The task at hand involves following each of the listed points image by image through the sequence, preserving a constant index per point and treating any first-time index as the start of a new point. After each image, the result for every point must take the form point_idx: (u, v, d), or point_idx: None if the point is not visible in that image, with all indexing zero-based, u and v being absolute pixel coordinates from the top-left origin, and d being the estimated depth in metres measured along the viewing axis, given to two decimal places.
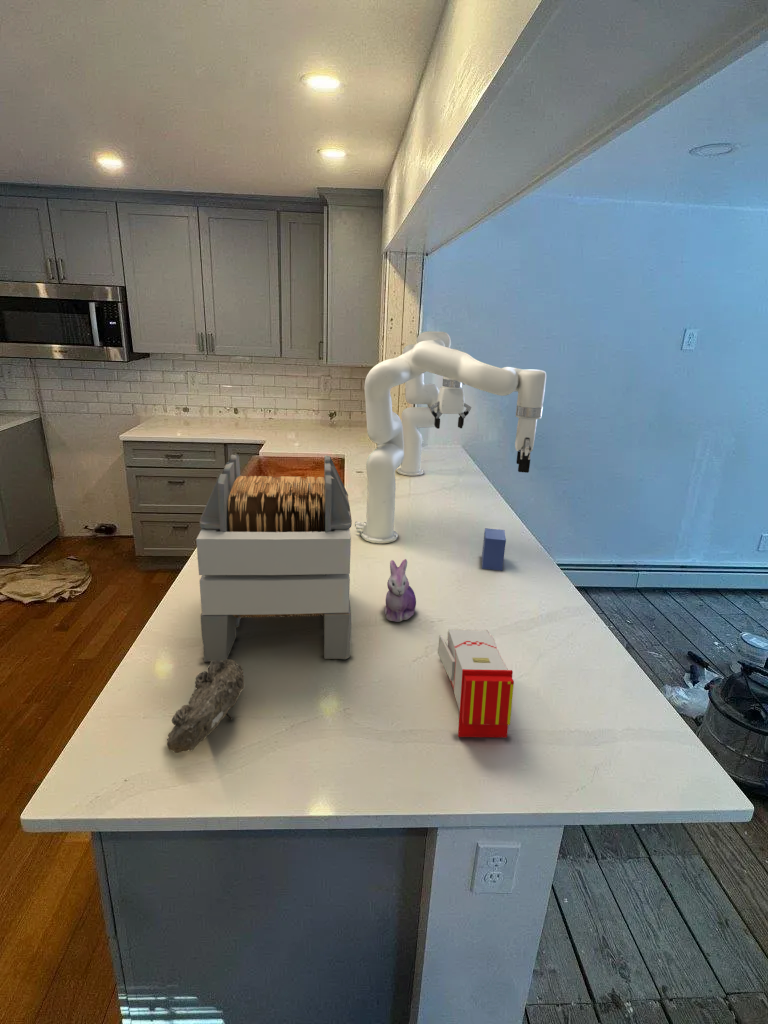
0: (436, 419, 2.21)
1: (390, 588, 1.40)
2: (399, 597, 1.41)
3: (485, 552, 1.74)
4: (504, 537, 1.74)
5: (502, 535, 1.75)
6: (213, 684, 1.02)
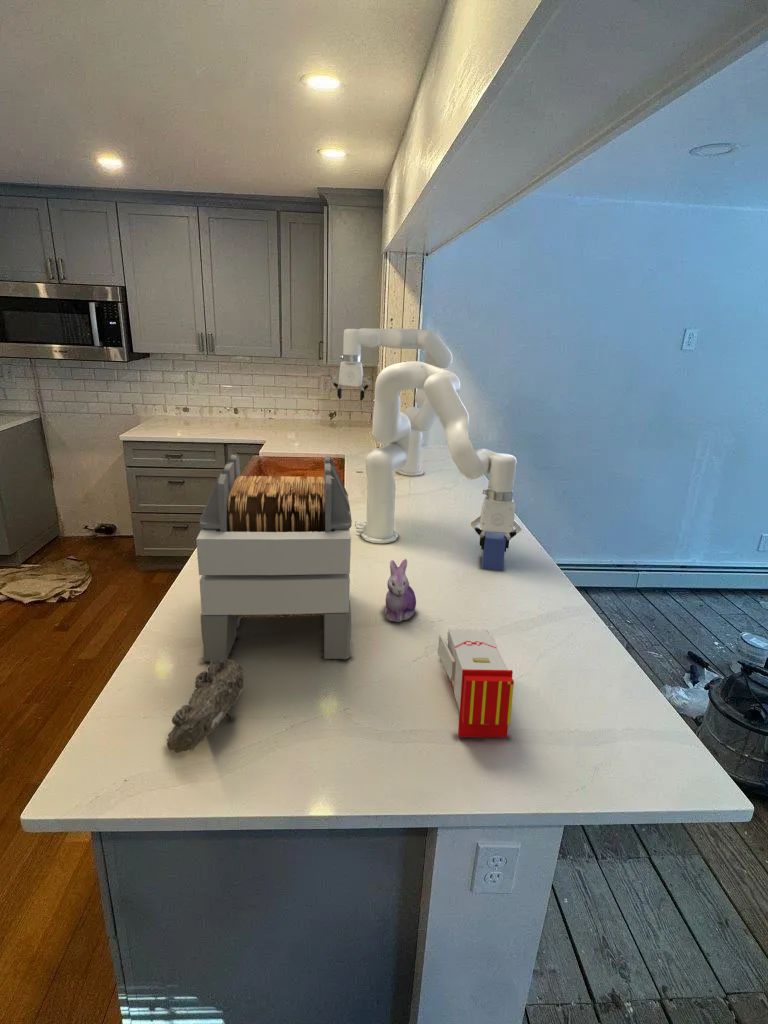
0: (364, 391, 2.47)
1: (390, 588, 1.40)
2: (399, 597, 1.41)
3: (485, 552, 1.74)
4: (504, 537, 1.74)
5: (502, 535, 1.75)
6: (213, 684, 1.02)
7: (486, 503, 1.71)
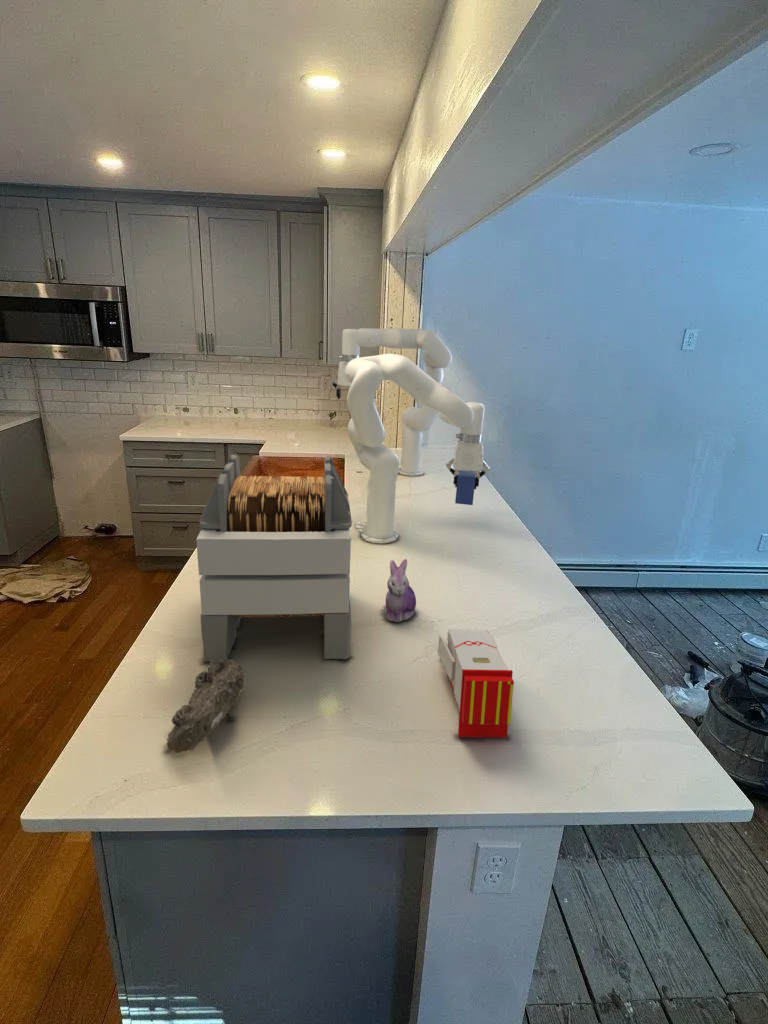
0: None
1: (390, 588, 1.40)
2: (399, 597, 1.41)
3: (457, 488, 2.01)
4: (474, 476, 2.01)
5: (473, 474, 2.02)
6: (213, 684, 1.02)
7: (458, 445, 1.98)
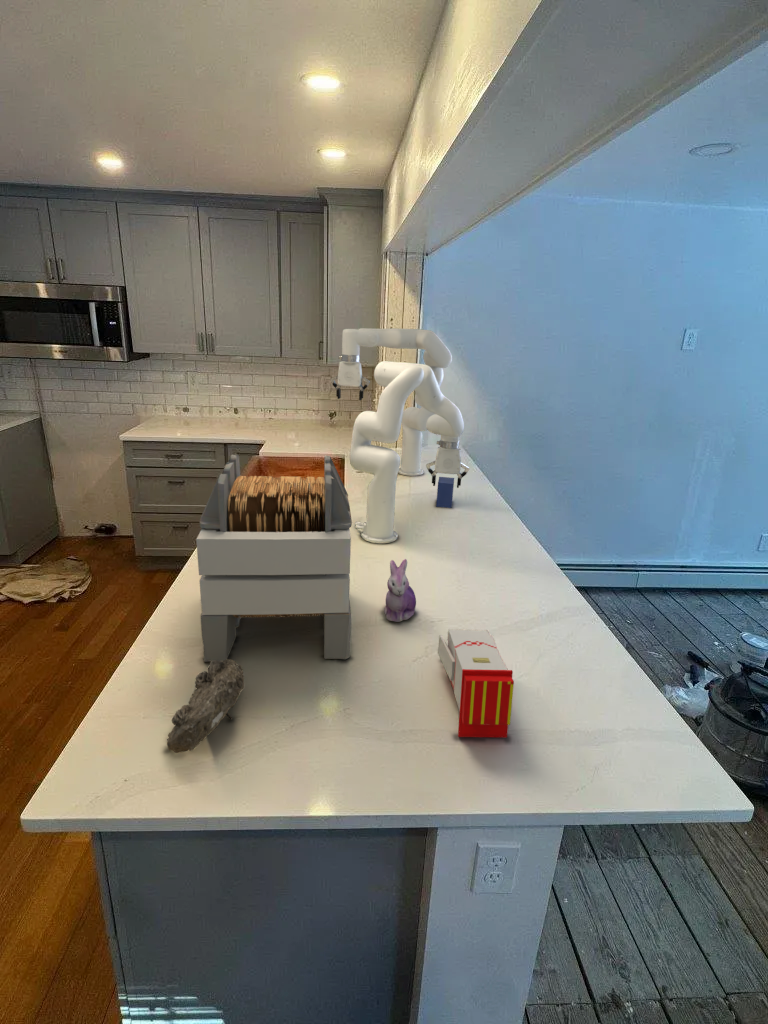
0: None
1: (390, 588, 1.40)
2: (399, 597, 1.41)
3: (438, 493, 2.27)
4: (452, 482, 2.27)
5: (451, 481, 2.28)
6: (213, 684, 1.02)
7: (439, 451, 2.24)
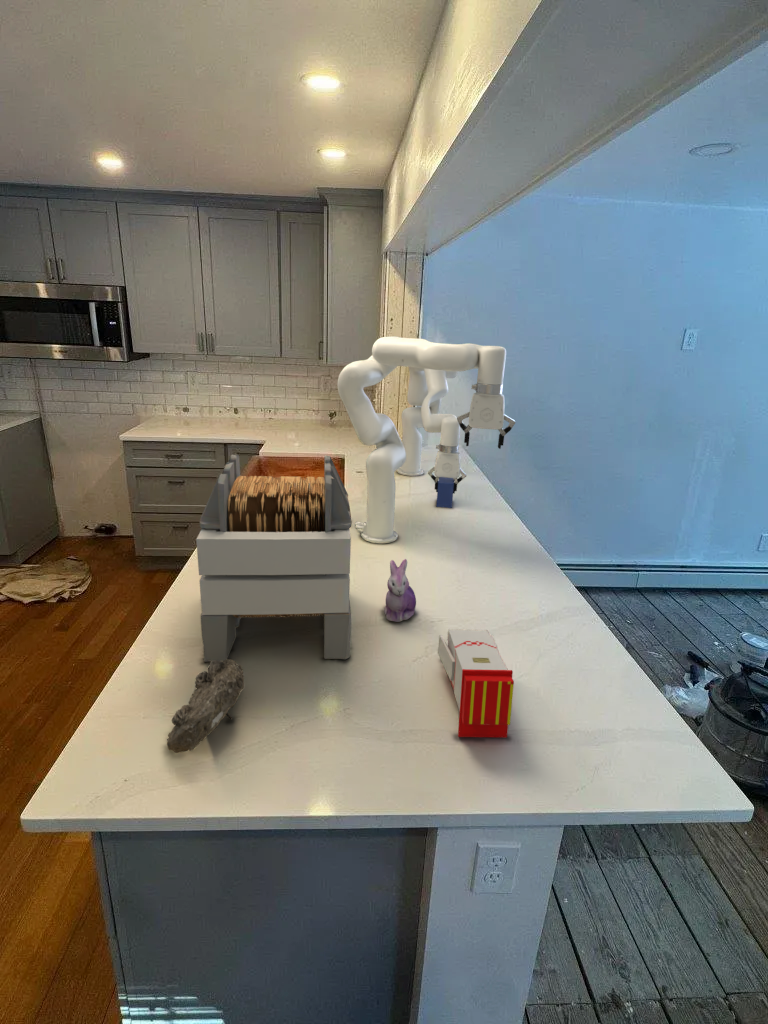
0: None
1: (390, 588, 1.40)
2: (399, 597, 1.41)
3: (438, 493, 2.27)
4: (453, 482, 2.27)
5: (451, 481, 2.28)
6: (213, 684, 1.02)
7: (475, 397, 1.66)
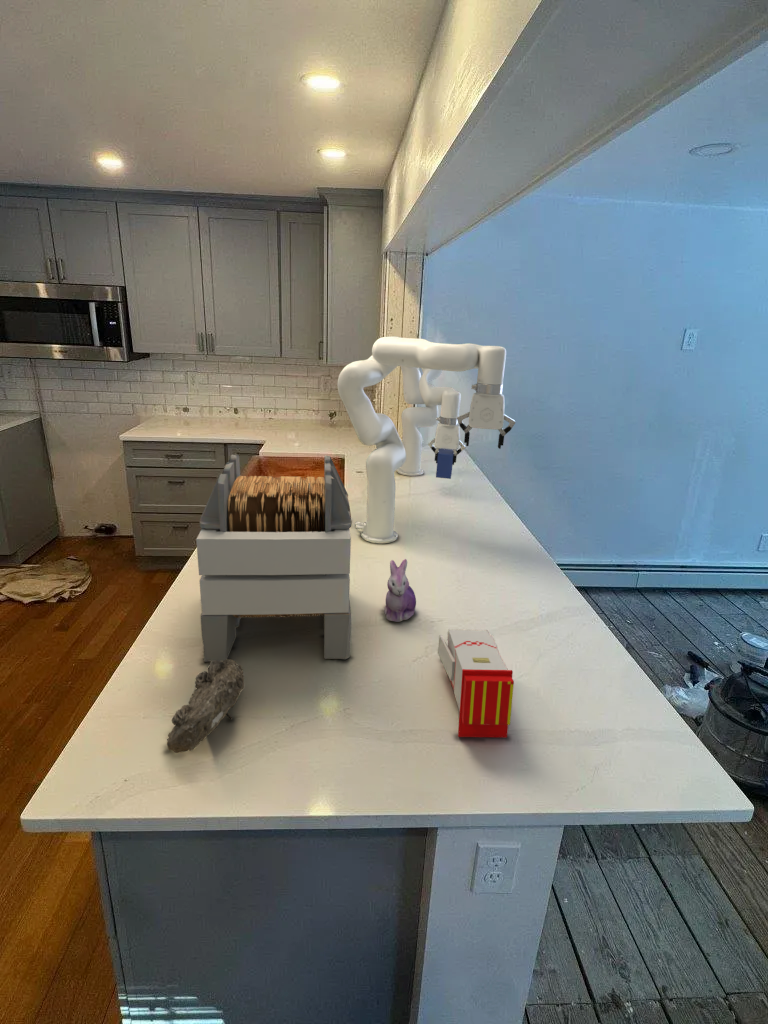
0: None
1: (390, 588, 1.40)
2: (399, 597, 1.41)
3: (438, 464, 2.34)
4: (452, 453, 2.34)
5: (451, 452, 2.35)
6: (213, 684, 1.02)
7: (475, 397, 1.66)
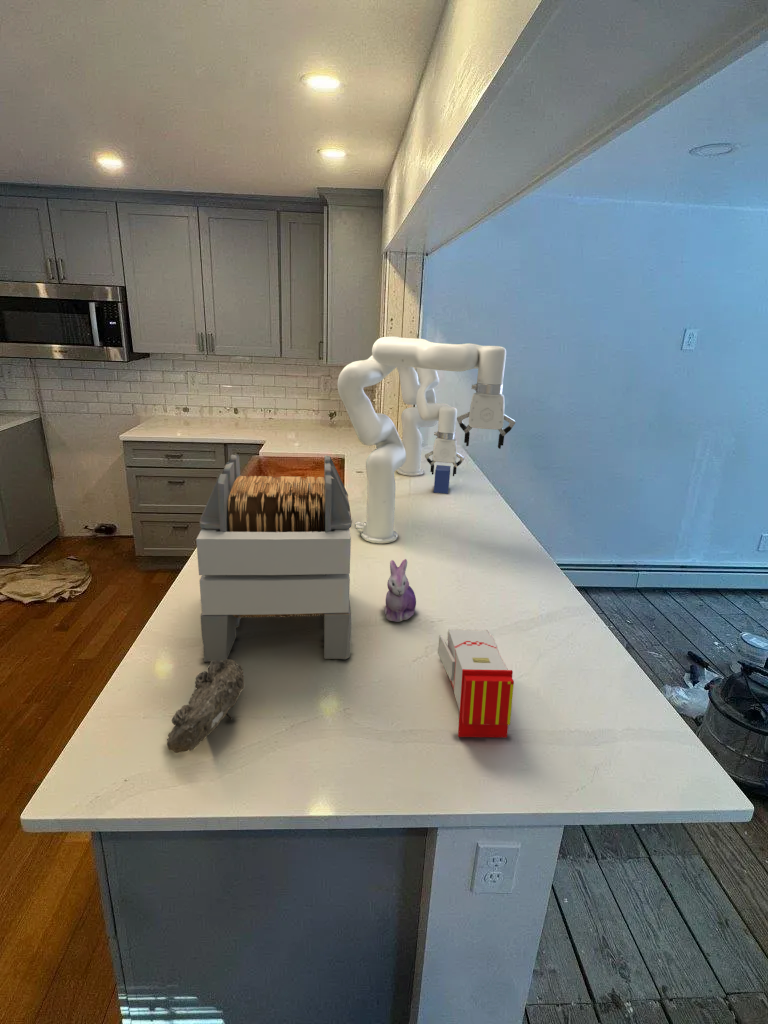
0: None
1: (390, 588, 1.40)
2: (399, 597, 1.41)
3: (435, 480, 2.45)
4: (449, 469, 2.45)
5: (448, 468, 2.46)
6: (213, 684, 1.02)
7: (475, 397, 1.66)
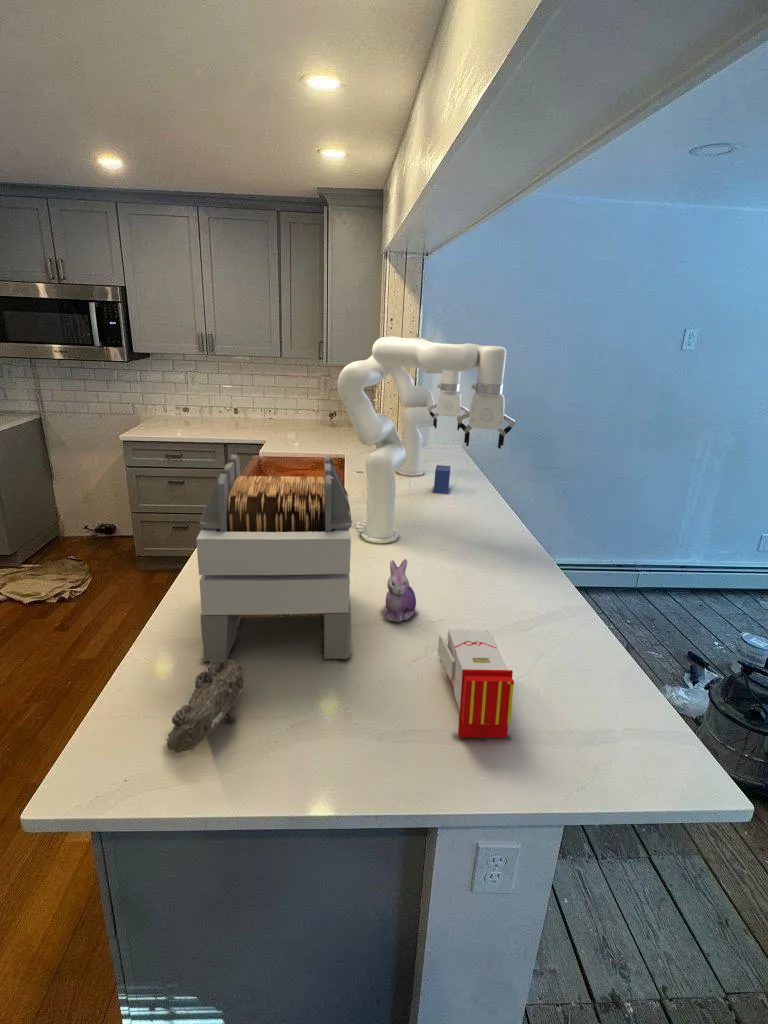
0: None
1: (390, 588, 1.40)
2: (399, 597, 1.41)
3: (435, 480, 2.45)
4: (449, 469, 2.45)
5: (448, 468, 2.46)
6: (213, 684, 1.02)
7: (475, 397, 1.66)
